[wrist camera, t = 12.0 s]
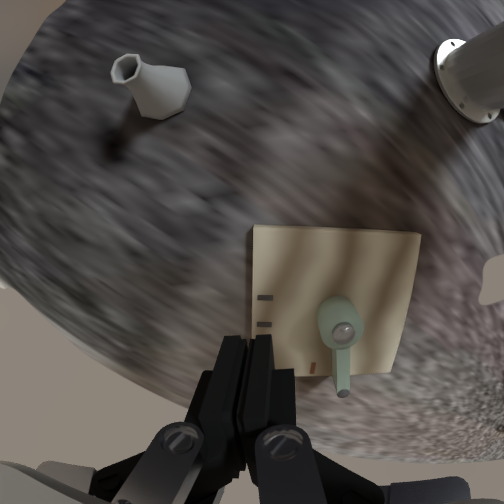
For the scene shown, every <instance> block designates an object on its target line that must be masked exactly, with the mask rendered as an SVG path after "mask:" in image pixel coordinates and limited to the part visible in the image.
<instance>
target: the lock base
mask: <svg viewBox="0 0 504 504" xmlns="http://www.w3.org/2000/svg"><path fill="white" fill-rule="evenodd" d="M420 241H421V234H419V233H417V232H405V231H390V230H373V229H354V228H333V227H310V226H283V225H254V227H253V288H252V339H255V337H256V335H262V334H271V335H272V342H273V353H274V363H275V369H289V368H294V376H333V375H332V351H331V348H329V347H328V346H326V345H325V344H324V342H323V341H322V338H321V334H320V331H319V327H318V323H317V319H316V313H317V309H318V307H319V306H320V304H321V303H322V302H323V301H324V300H326V299H328V298H330V297H333V296H343V297H346V298H348V299H349V300H351V302H352V303H353V305H354V306H355V308H356V310H357V312H358V314H359V315H360V317H361V319H362V321H363V324H364V331H363V334H362V336H361V338H360V340H359V341H358V342H357V343H356V344H354V345H353V346H351V347H350V375H360V374H374V373H386V372H390V371H391V368H392V365H393V362H394V359H395V355H396V352H397V349H398V345H399V342H400V338H401V335H402V331H403V327H404V323H405V319H406V315H407V311H408V307H409V302H410V298H411V293H412V288H413V283H414V278H415V273H416V267H417V261H418V255H419V248H420Z"/></svg>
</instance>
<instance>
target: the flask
mask: <svg viewBox="0 0 504 504" xmlns="http://www.w3.org/2000/svg"><path fill="white" fill-rule="evenodd" d="M110 73H111V77H112V81H113V83H114V84H123V85H125V86H126V87H127V88H128V89H129V90H130V91H131V93H132V95H133V97H134V99H135V101H136V103H137V106H138V109H139V111H140V114H141V116H143V117H148V118H153V119H159V120H164V119H166V118H168V117H170V116H172V115H174V114H177V113H179V112H181V111H183V110H184V109H185V106H186V103H187V100H188V97H189V94H190V92H191V89H192V87H191V84H190V82H189V79H188V76H187V73H186V71H185V69H183V68H176V67H169V66H151V65H148V64H145V63H143V62H142V61H141V59H140V56H139V55H138V54H125V55H124V56H122V57H120V58H118V59H117V60H115V62H114V64H113V67H112V70H111V72H110Z"/></svg>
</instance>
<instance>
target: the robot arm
mask: <svg viewBox="0 0 504 504" xmlns="http://www.w3.org/2000/svg"><path fill="white" fill-rule="evenodd" d="M434 70H435V74H436V78H437V81H438V83H439V86H440V88H441V90H442V92H443V94H444V95H445V97H446V98H447V100H448V101H449V103H450V104H451V105H452V106H453V108H454V109H455V110H456V111H457V112H458V113H459V114H460V115H462V116H463V117H464V118H466V119H467V120H469V121H472V122H474V123H479V124H481V123H488V122H491V121H493V120H495V118H496V117H497V116H498V114H499V112H500V109H502V108H504V21H503V22H501V23H500V24H498V25H496V26H494V27H492V28H490V29H488V30H486V31H485V32H483V33H481V34H479V35H477V36H476V37H474V38H472V39H470V40H469V41H467V42H465V41H462V40H458V39H449V40H446V41H444V42H443V43H441V44H440V45H439V46H438V47H437V49H436V51H435V54H434ZM246 463H247V465H248V469H249V473H250V476H251V480H252V482H253V483H254V484H255V485H256V486H257V487H258V490H259V499H260V504H504V502H503V501H500V500H496V499H483V498H482V499H471V496H470V488H469V485H468V483H467V482H466V481H465V480H464V479H463V478H460V477H457V476H456V477H445V478H438V479H430V480H422V481H412V482H402V483H401V482H400V483H391V484H390V486H377V485H376V484H375V483H373V482H371V481H369V480H367V479H365V478H363V477H361V476H359V475H358V474H356V473H354V472H352V471H350V470H348V469H347V468H345V467H343V466H341V465H339V464H338V463H336V462H334V461H332V460H331V459H329V458H327V457H326V456H324V455H322V454H321V453H319V452H317V451H316V450H314V449H312V445H311V442H310V438H309V436H308V435H307V433H306V432H305V431H304V430H303V429H301V428H299V427H297V426H296V403H295V377H294V368H289V369H275V363H274V353H273V342H272V335H271V334H262V335H256V337H255V339H250V343H249V348H248V346H247V341H246V339H241V336H240V335H239V336H224V339H223V342H222V345H221V348H220V351H219V354H218V357H217V360H216V363H215V366H214V369H213V371H210V370H205V371H203V373H202V375H201V377H200V380H199V383H198V385H197V388H196V391H195V393H194V396H193V399H192V401H191V404H190V407H189V410H188V412H187V415H186V418H185V420H184V422H175V423H171V424H169V425H167V426H165V427H163V428H162V429H161V430H160V431H159V432H158V433H157V434H156V436H155V437H154V439H153V440H152V442H151V444H150V445H149V446H148V448H147V450H146V451H144V452H142V453H139V454H137V455H135V456H132V457H130V458H128V459H125V460H123V461H120V462H118V463H115V464H112V465H110V466H107V467H105V468H103V469H101V470H99V471H96V470H95V468H91V467H84V466H77V465H71V464H65V463H60V462H55V461H46V462H43V463H42V464H40V465H39V466H38V468H37V469H36V470H35V469H32V468H30V467H27V466H24V465H21V464H18V463H13V462H7V461H0V504H219V503H220V500H221V498H222V495H223V493H224V488H225V485H227V484H229V483H230V482H232V478H239V472H240V471H245V469H246Z"/></svg>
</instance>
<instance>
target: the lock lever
mask: <svg viewBox="0 0 504 504" xmlns="http://www.w3.org/2000/svg"><path fill="white" fill-rule="evenodd" d="M316 319H317V323H318V327H319V331H320V334H321V338H322V341H323V342H324V344H325V345H326V346H328V347H329V348H331V351H332V375H333V379H334V384H335V388H336V392H337V396H338V397H340V398H344V397H347V396H348V395H349V393H350V347H351V346H353V345H354V344H356V343H357V342H358V341H359V340H360V338H361V336H362V334H363V331H364V324H363V321H362V319H361V317H360V315H359V314H358V312H357V310H356V308H355V306H354V305H353V303H352V302H351V300H349V299H348V298H346V297H343V296H333V297H330V298H328V299H326V300H324V301H323V302H322V303H321V304H320V306H319V307H318V309H317V313H316Z"/></svg>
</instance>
